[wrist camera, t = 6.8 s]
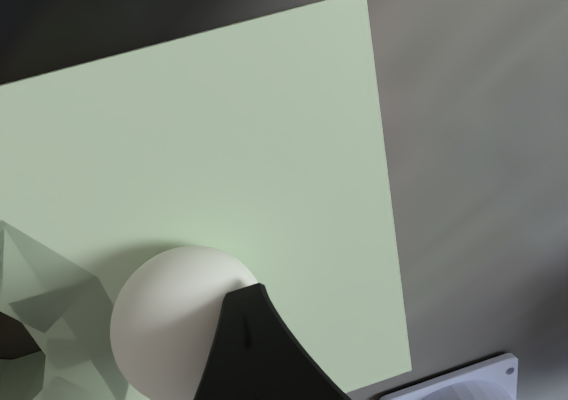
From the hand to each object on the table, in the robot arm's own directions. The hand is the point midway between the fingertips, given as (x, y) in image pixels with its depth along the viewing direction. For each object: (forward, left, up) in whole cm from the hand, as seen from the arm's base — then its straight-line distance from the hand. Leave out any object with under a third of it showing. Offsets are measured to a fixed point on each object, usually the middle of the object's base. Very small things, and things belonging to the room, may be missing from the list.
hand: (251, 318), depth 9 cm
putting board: (-1, +5, -6) cm, 8 cm away
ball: (0, +2, -1) cm, 2 cm away
